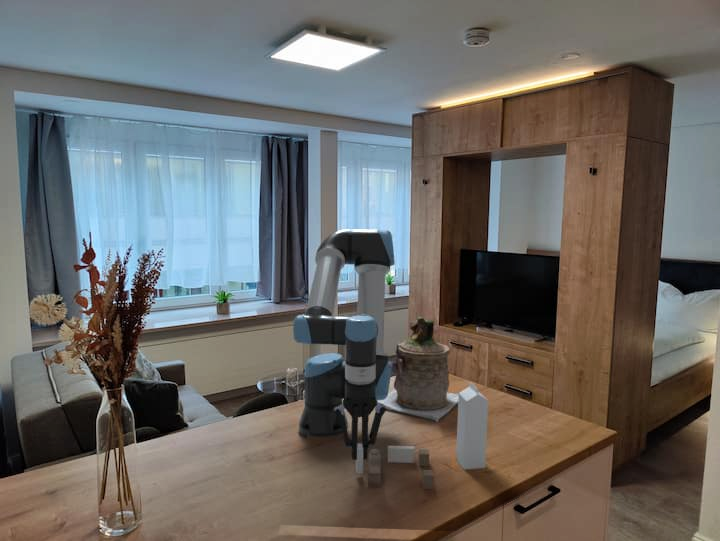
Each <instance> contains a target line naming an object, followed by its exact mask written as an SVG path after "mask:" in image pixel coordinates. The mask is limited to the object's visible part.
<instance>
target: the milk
mask: <svg viewBox="0 0 720 541" xmlns="http://www.w3.org/2000/svg"><path fill="white" fill-rule="evenodd" d="M458 394H459V398H458V404H457V405H458V406H457V425H456V426H457V428H456V429H457V430H456V433H457V434H456V451H455V452H456V454H455V456H456V457H455V458H456V461H458V463H459V464H460V466H461V467H462V469H463V470H474V469H475V470H477V469H485V468H486V458H487V457H486V455H487V434H488V416H489V414H488V413H489V411H488V410H489V399H487V397H485V396H484V394H482V393H481V392H480V391H479V388H478V386H477V387H476V386H475V384H473V383H472V382H471V381H469V383H468V387H466V388H464V389H463V390H461V391H459V392H458Z"/></svg>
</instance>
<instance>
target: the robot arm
mask: <svg viewBox="0 0 720 541" xmlns="http://www.w3.org/2000/svg"><path fill="white" fill-rule="evenodd" d="M394 249H395V248H394V241H393V235H392V233H391V231H390V230H388V229H379V228H376V229H373V228H372V229H369V228H368V229H365V228H363V229H362V228H354V229H353V228H344V229H343V228H342V229H340V230H337V231H334V232H333V233H332V234H330V235H328V236H327V237H326V238H325V239H324V240H323V241H322V242H321V244H320V245H319V246H318V248H317V250H316V254H315V257H314V260H315V264H316V267H315V271H314V274H313V275H314V276H313V280H312V284H311V289H310V292H309V297H308V300H307V306H306V308H305V313H304V314H298V315H296V316H295V318H294V320H293V325H292V327H293V328H292V331H293V332H292V334H293V335H292V336H293V339H294V341H295V342H296V343H298V344H304V345H305V344H306V345H334V346H345V359H344V357H343V355H342V354H341V353H335V352H329V353H321V354H317V355H314V356H312V357H310V358H308V359H307V360H306V362H305V363H304V364H305V365H304V374H303V376H304V407H303V409H302V410H303V411H302V414H301V416H300V419H299V424H298V432H299V434H300V435H301V436H303V437H305V438H307V437H308V435H309V436H313V437H332V436H337V435H339V434H342V436H343V439H344V440H343V441H344V444H345V446H346V447H351V458H352V460H353V461H355V471H356V475H359V474H360V475H361V474H364V460H367V458H368V449H369V446H373V445H375V444H376V441H377V438H378V437H377V436H378V432H379V428H380V425H381V421H382V419H383V418H382V417H383V416H384V414H385V413H386V412H387V409H386V408H385V406H384V405H383V404H379V403H378V402H377V400H384V399H385V398H386V397H387V396H388V393H389V390H390V383H391V377H392V371H393V369H392V362H393V361H390V360H389V356H388V354H387V353H386V351H385V350H384V340H385V339H384V337H385V336H384V334H385V333H384V331H385V299H386V294H385V293H386V275H387V274H388V273H389V272H391V267H393V266H395V253H394V252H395V251H394ZM345 265H352V266H354V268H353V270H354V271H355V272H356V273H357V274H358V283H357V284H358V285H357V289H358V290H357V304H356V305H357V306H356V307H357V309H356V311H357V312H356V315H353V316H343V315H342V316H341V315H334V310H335V304H336V299H337V293H338V287H339V281H340V278H341V277H340V275H341V271H342V269H344V267H345ZM345 410H346V411H347V413H348V414H349V415H350V416H351V432H350V434H351V438H350V437H349V433H348V427H349V423H348V422H349V421H348V418H347V415H346V412H345ZM374 410H375V413H374V416H373V420H372V424H371V427H370V432H369V418H370V417H369V416H370V415H371V413H372V412H373V411H374ZM359 418H361V443H358V442H359V440H358V436H359V434H358V430H359Z"/></svg>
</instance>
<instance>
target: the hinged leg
mask: <svg viewBox="0 0 720 541" xmlns="http://www.w3.org/2000/svg"><path fill="white" fill-rule="evenodd" d="M381 465H382V462H381V452H380V449H377V448H372V449H370V450H369V452H368V472H367V473H368V474H367V488H378V489H380V488H381V487H382V486H381V481H382V478H381V477H382V473H381V472H382V467H381Z"/></svg>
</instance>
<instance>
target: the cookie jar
mask: <svg viewBox="0 0 720 541" xmlns="http://www.w3.org/2000/svg"><path fill="white" fill-rule="evenodd" d="M434 324H435V322H434V321H433V320H431V319H427V318H426V317H422V316H417V318H416V320H411V321H410V324H409V329H410V330H411V331H413V333H412V334H411V335H410V337H409V338H407V339H405V340H404V341H403V342H400V343H398V344H397V345H396V349H395V355H396V356H397V357H396V361H391V362H392V371H393V373H394V375H395V379H394V383H393V388H394V389H393V390H391V391H390V392H388V396H387V397H386V398H385V399H384V400H377V402H378V403H379V404H383V405H384V406H385V408H386V410H389V411H395V412H399V413H404V414H408V415H412V416H417V417H420V418H424V419H427V420H428V419H429V420H432V421H435V422H437V423H438V421H439V420H440V419H441V418H443V416H445V415H447V414H448V413H449V412H450V411H451V410H452V408H454V407H455V406H457V405H458V398H459V393H453V392H448V391H449V388H450V378H449V376H450V372H449V365H448V364H449V363H448V356H449V355H450V354H451V353H450V352H451V350H450V348H449V346H448V345H445V344H442V343H439V342H437V341H435V338H434V331H435V330H434V329H435V328H434V326H435V325H434Z"/></svg>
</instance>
